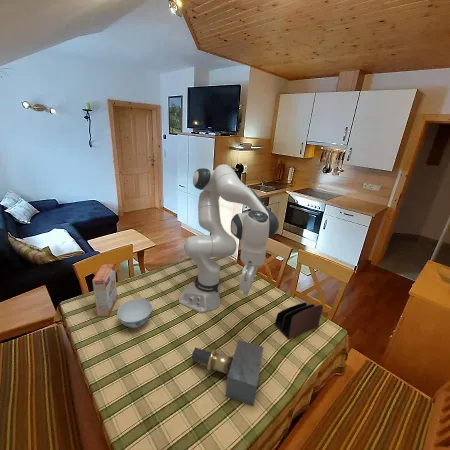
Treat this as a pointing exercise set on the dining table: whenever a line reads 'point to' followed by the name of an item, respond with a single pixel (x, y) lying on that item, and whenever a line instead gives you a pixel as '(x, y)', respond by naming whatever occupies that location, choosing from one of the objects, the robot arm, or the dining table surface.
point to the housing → (244, 372)
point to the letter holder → (298, 319)
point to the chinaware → (134, 312)
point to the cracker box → (105, 290)
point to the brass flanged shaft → (213, 360)
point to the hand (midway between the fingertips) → (248, 287)
